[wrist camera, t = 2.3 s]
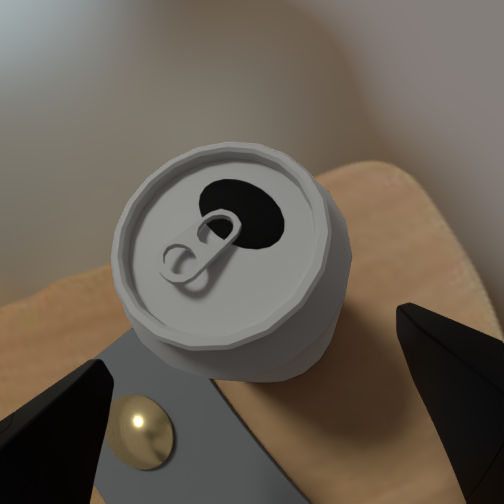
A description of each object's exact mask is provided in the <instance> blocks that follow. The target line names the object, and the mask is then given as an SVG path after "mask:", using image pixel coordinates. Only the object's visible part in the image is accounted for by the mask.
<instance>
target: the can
mask: <svg viewBox="0 0 504 504" xmlns="http://www.w3.org/2000/svg"><path fill="white" fill-rule="evenodd" d="M110 261H111V268H112V274H113V280H114V286H115V291H116V293H117V295H118V296H119V298H120V300H121V302H122V304H123V307H124V312H125V314H126V316H127V318H128V320H129V321H130V323H131V325H132V327H133V328H134V330H135V332H136V334H137V335H138V337H139V339H140V340H141V342H142V343H143V344H144V345H145V346H146V347H148V348H149V349H150V350H151V351H152V352H153V353H155V354H156V355H157V356H158V357H159V358H161V359H162V360H163V361H164V362H166V363H167V364H168V365H169V366H172V367H175V368H177V369H180V370H183V371H186V372H189V373H192V374H194V375H197V376H200V377H203V378H207V379H218V380H230V381H244V382H280V381H285V380H288V379H290V378H293V377H295V376H298V375H300V374H303V373H304V372H306V371H307V370H308V369H309V368H310V367H312V366H313V365H314V364H315V363H316V362H317V361H319V360H320V358H321V357H322V355H323V354H324V352H325V350H326V349H327V347H328V345H329V344H330V342H331V340H332V337H333V333H334V330H335V327H336V324H337V321H338V318H339V314H340V311H341V308H342V304H343V301H344V298H345V293H346V288H347V283H348V277H349V272H350V266H351V261H352V253H351V247H350V241H349V236H348V230H347V225H346V220H345V219H344V217H343V215H342V213H341V212H340V210H339V208H338V206H337V205H336V203H335V201H334V200H333V198H332V196H331V195H330V193H329V191H328V190H326V189H325V188H324V187H323V186H322V185H321V184H319V183H318V182H317V181H316V180H315V179H314V178H313V177H312V175H311V173H310V172H309V171H307V170H306V169H305V168H304V167H302V166H301V165H300V164H299V163H297V162H296V161H295V160H294V159H292V158H291V157H290V156H289V155H287V154H285V153H283V152H280V151H278V150H275V149H272V148H270V147H267V146H264V145H261V144H257V143H245V142H230V141H228V142H223V143H217V144H212V145H207V146H202V147H198V148H196V149H193V150H191V151H189V152H187V153H184V154H183V155H180V156H178V157H176V158H173V159H171V160H170V161H169V162H167V163H166V164H165V165H163V166H162V167H161V168H160V169H158V170H157V171H156V172H154V173H153V174H152V175H150V176H149V177H148V178H147V179H146V180H145V181H144V182H143V184H142V185H141V186H140V187H139V189H138V190H137V191H136V192H135V193H134V195H133V196H132V197H131V199H130V200H129V201H128V202H127V205H126V207H125V209H124V211H123V213H122V215H121V218H120V220H119V222H118V225H117V227H116V229H115V233H114V239H113V246H112V252H111V259H110Z"/></svg>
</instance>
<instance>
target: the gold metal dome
mask: <svg viewBox="0 0 504 504" xmlns="http://www.w3.org/2000/svg"><path fill="white" fill-rule="evenodd" d="M105 438H106V441H107V443H108V445H109V447H110V449H111V451H112V452H113V453H114V455H115V456H116V457H117V458H118V459H119V460H120V461H122V462H123V463H125V464H126V465H128V466H130V467H133V468H136V469H151V468H154V467H157V466H159V465H161V464H162V463H164V462H165V461H166V460H167V459H168V457H169V456H170V454H171V453H172V450H173V447H174V440H175V435H174V428H173V425H172V422H171V420H170V418H169V416H168V414H167V413H166V411H165V410H164V409H163V408H162V407H161V406H160V405H159V404H158V403H157V402H156V401H154V400H153V399H151V398H149V397H146V396H143V395H135V394H131V395H124V396H122V397H119V398H118V399H116V400H115V401H114V402H113V403H112V404H111V407H110V413H109V419H108V424H107V429H106V433H105Z"/></svg>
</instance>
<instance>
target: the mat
mask: <svg viewBox="0 0 504 504" xmlns="http://www.w3.org/2000/svg"><path fill="white" fill-rule="evenodd" d="M94 359H101V360H103V361H104V363H105V365H106V366H107V368H108V370H109V371H110V373H111V375H112V376H113V379H114V389H113V395H112V401H111V404H112V403H113V402H114V401H115V400H116V399H118V398H119V397H122V396H124V395H131V394H135V395H143V396H146V397H149V398H151V399H153V400H154V401H156V402H157V403H158V404H159V405H160V406H161V407H162V408H163V409H164V410H165V411H166V413H167V414H168V416H169V418H170V420H171V422H172V425H173V428H174V435H175V440H174V447H173V450H172V453H171V454H170V456H169V457H168V459H167V460H166V461H165V462H164V463H162V464H161V465H159V466H157V467H154V468H151V469H136V468H133V467H130V466H128V465H126V464H125V463H123V462H122V461H120V460H119V459H118V458H117V457H116V456H115V455H114V453H113V452H112V451H111V449H110V447H109V445H108V443H107V441H106V438H105V437H104V441H103V445H102V449H101V453H100V457H99V462H98V466H97V471H96V475H95V480H94V485H95V486H96V488H97V490H98V491H99V493H100V494H101V496H102V498H103V499H104V501H105V502H106V504H312V503H311V502H310V501H309V500H308V499H307V498H306V497H305V495H304V494H303V493H302V492H301V491H300V490H299V489H298V488H297V486H296V485H295V484H294V483H293V482H292V481H291V480H290V479H289V477H288V476H287V475H286V474H285V473H284V472H283V470H282V469H281V468H280V467H279V466H278V464H277V463H276V462H275V461H274V460H273V458H272V457H271V456H270V455H269V454H268V452H267V451H266V450H265V449H264V448H263V446H262V445H261V444H260V443H259V441H258V440H257V439H256V438H255V436H254V435H253V434H252V432H251V431H250V430H249V429H248V427H247V426H246V425H245V423H244V422H243V421H242V420H241V418H240V417H239V416H238V414H237V413H236V412H235V410H234V409H233V408H232V406H231V405H230V404H229V402H228V401H227V399H226V398H225V397H224V395H223V394H222V393H221V391H220V390H219V388H218V387H217V386H216V384H215V383H214V381H213V380H212V379H207V378H203V377H200V376H197V375H194V374H192V373H189V372H186V371H183V370H180V369H177V368H175V367H172V366H169V365H168V364H167V363H166V362H164V361H163V360H162V359H161V358H159V357H158V356H157V355H156V354H155V353H153V352H152V351H151V350H150V349H149V348H148V347H146V346H145V345H144V344H143V343H142V342H141V340H140V339H139V337H138V335H137V334H136V332H135V330H134V328H131V329H130V330H129V331H127V332H126V333H125V334H124V335H122V336H121V337H120V338H119V339H117V340H116V341H115V342H114V343H112V344H111V345H110V346H109V347H107V348H106V349H105V350H104V351H102V352H101V353H100V354H99V355H97V356H96V357H95V358H94Z"/></svg>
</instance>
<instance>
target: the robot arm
mask: <svg viewBox="0 0 504 504" xmlns="http://www.w3.org/2000/svg"><path fill="white" fill-rule="evenodd" d="M396 332H397V337H398V340H399V342H400V345H401V348H402V350H403V353H404V356H405V359H406V361H407V364H408V367H409V370H410V373H411V376H412V378H413V381H414V383H415V385H416V387H417V389H418V391H419V394H420V396H421V398H422V400H423V402H424V404H425V406H426V408H427V410H428V413H429V415H430V417H431V419H432V421H433V423H434V426H435V428H436V430H437V432H438V435H439V437H440V439H441V441H442V444H443V446H444V448H445V451H446V453H447V455H448V458H449V460H450V463H451V465H452V467H453V470H454V472H455V475H456V477H457V480H458V482H459V485H460V488H461V490H462V493H463V495H464V498H465V501H466V504H504V343H503V341H501V340H499V339H496V338H494V337H492V336H489V335H487V334H485V333H482V332H480V331H477V330H475V329H473V328H470V327H468V326H466V325H463V324H461V323H459V322H456V321H454V320H452V319H449V318H447V317H444V316H442V315H440V314H437V313H435V312H433V311H430V310H428V309H425V308H423V307H421V306H418V305H416V304H413V303H410V302H409V303H405V304H402V305H399V306H397V309H396ZM113 389H114V379H113V376H112V375H111V373H110V371H109V370H108V368H107V366H106V365H105V363H104V361H103V360H101V359H91V360H89V361H87V362H86V363H84V364H83V365H81V366H80V367H78V368H77V369H75V370H74V371H73V372H71V373H70V374H68V375H67V376H65V377H64V378H62V379H61V380H59V381H58V382H57V383H55V384H54V385H52V386H51V387H49V388H48V389H46V390H45V391H44V392H42V393H41V394H39V395H38V396H36V397H35V398H33V399H32V400H31V401H29V402H28V403H26V404H25V405H23V406H22V407H20V408H19V409H18V410H16V411H15V412H13V413H12V414H10V415H9V416H7V417H6V418H4V419H3V420H1V421H0V504H90V500H91V495H92V490H93V485H94V480H95V475H96V471H97V466H98V462H99V457H100V453H101V449H102V445H103V441H104V437H105V433H106V429H107V424H108V419H109V413H110V407H111V401H112V395H113Z"/></svg>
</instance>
